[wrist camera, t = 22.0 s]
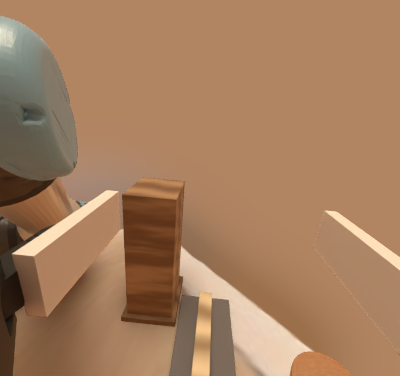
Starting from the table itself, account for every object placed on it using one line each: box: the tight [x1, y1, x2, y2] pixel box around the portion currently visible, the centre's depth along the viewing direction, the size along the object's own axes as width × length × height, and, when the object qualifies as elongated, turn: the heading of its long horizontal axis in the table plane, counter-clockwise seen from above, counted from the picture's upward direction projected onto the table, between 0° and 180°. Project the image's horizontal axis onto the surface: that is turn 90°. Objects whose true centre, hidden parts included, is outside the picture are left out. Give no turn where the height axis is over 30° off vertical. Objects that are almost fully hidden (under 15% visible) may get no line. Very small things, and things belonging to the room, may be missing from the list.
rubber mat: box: [169, 295, 236, 376], centre depth 42 cm, size 24×12×1 cm, turn 177°
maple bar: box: [191, 292, 212, 376], centre depth 39 cm, size 26×3×3 cm, turn 176°
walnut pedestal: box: [121, 178, 184, 326], centre depth 48 cm, size 14×12×30 cm
